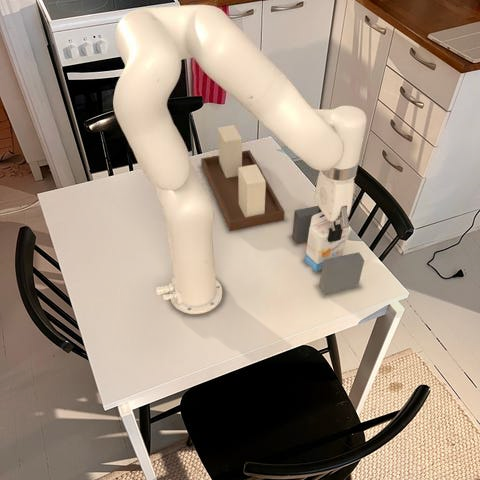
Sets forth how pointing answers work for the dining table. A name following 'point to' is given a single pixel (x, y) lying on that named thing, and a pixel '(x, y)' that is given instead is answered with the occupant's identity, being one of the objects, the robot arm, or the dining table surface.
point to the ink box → (322, 242)
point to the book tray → (229, 195)
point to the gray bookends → (334, 269)
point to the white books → (241, 172)
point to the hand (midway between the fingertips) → (328, 231)
